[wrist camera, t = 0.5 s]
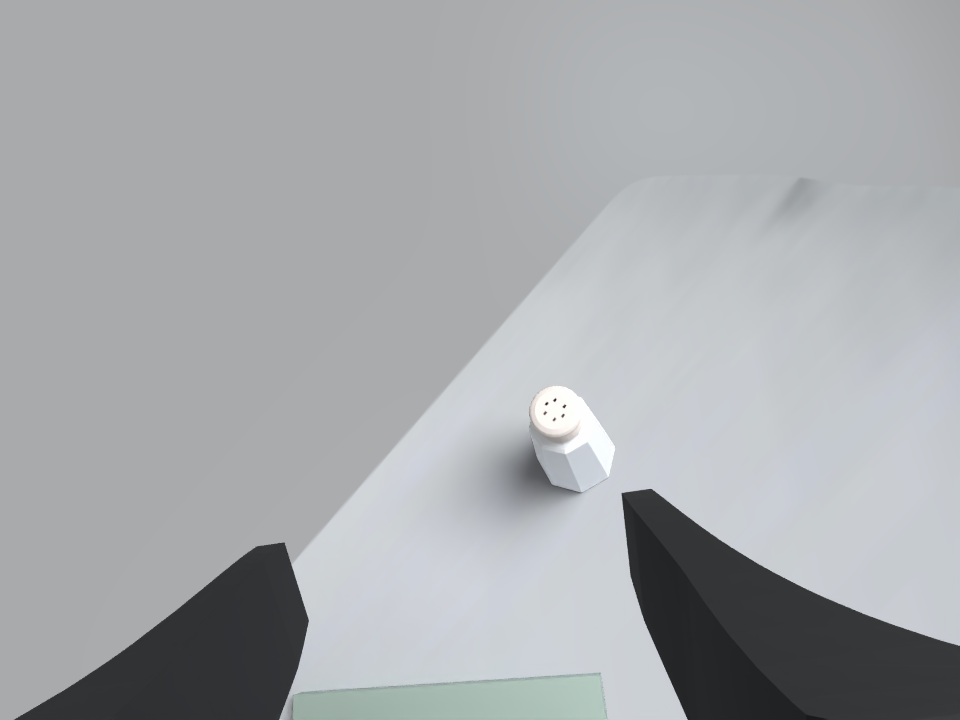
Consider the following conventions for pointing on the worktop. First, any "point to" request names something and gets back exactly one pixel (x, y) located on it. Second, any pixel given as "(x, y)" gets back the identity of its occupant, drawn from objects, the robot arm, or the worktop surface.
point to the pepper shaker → (569, 440)
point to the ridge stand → (462, 701)
